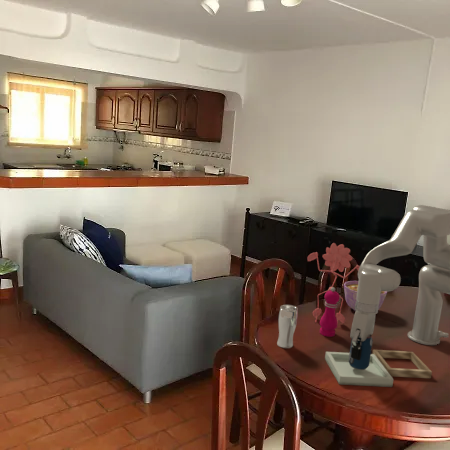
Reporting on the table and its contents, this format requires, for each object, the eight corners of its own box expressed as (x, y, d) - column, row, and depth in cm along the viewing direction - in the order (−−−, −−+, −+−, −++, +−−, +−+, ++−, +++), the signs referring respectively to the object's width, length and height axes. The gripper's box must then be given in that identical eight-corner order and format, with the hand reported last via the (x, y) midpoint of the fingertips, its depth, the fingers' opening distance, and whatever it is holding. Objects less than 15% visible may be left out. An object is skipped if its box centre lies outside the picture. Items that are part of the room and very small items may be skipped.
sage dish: (372, 361, 177) (374, 354, 176) (392, 386, 159) (393, 379, 159) (324, 358, 176) (325, 351, 175) (338, 384, 158) (340, 376, 157)
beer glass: (295, 343, 187) (299, 306, 184) (292, 350, 180) (296, 312, 177) (278, 339, 189) (282, 303, 186) (273, 346, 182) (278, 308, 180)
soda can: (372, 367, 167) (377, 334, 165) (362, 373, 162) (366, 339, 160) (354, 359, 172) (359, 328, 170) (344, 364, 167) (348, 332, 165)
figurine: (356, 333, 202) (367, 251, 196) (296, 319, 212) (306, 241, 206) (361, 322, 215) (373, 245, 210) (305, 309, 226) (314, 236, 220)
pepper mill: (336, 338, 194) (342, 291, 191) (318, 335, 196) (324, 288, 192) (335, 331, 201) (342, 286, 198) (318, 329, 203) (324, 283, 199)
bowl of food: (388, 310, 233) (392, 287, 231) (377, 322, 216) (381, 297, 214) (348, 300, 243) (351, 278, 241) (334, 310, 227) (337, 287, 224)
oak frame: (411, 357, 183) (412, 351, 182) (430, 378, 168) (431, 371, 167) (371, 355, 182) (372, 349, 181) (387, 376, 166) (388, 369, 166)
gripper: (365, 297, 172) (358, 343, 175) (346, 309, 158) (339, 359, 162) (386, 303, 168) (379, 350, 171) (368, 316, 154) (360, 367, 157)
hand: (359, 354), depth 166 cm, fingers closed on soda can, 6 cm apart
